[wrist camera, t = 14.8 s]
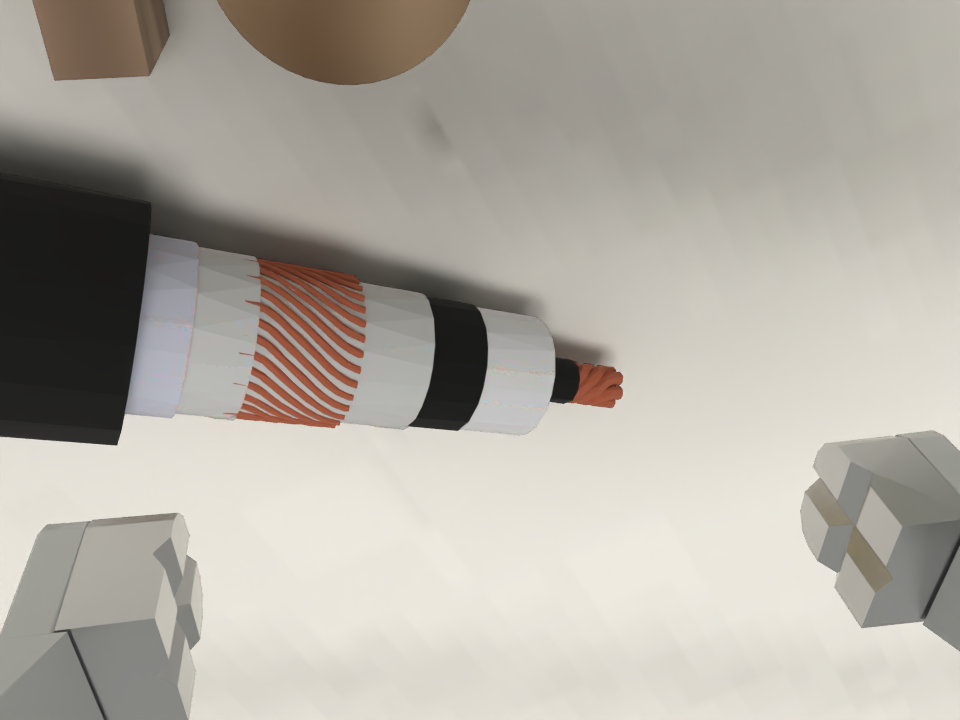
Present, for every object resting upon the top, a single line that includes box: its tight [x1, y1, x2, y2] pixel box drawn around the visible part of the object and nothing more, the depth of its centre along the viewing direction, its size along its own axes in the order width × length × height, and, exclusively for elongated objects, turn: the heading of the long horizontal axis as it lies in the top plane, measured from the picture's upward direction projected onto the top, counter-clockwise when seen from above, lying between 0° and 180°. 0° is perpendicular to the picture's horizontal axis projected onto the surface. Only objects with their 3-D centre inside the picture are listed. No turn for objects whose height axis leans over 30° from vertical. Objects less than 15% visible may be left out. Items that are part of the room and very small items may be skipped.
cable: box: [0, 173, 623, 445], centre depth 37 cm, size 10×34×10 cm, turn 70°
